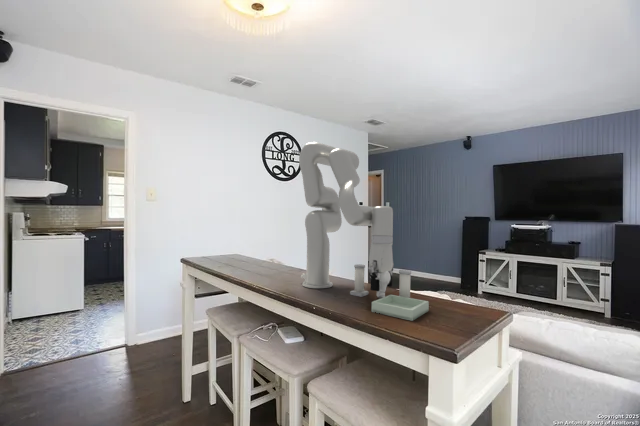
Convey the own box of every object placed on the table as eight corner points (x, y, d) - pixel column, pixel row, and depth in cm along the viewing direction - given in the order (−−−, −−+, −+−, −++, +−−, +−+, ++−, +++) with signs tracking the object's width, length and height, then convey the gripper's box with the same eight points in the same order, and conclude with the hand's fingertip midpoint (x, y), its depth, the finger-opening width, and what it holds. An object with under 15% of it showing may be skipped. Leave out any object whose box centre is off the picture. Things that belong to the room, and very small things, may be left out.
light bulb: (390, 301, 110) (390, 269, 111) (370, 300, 112) (371, 268, 112) (390, 297, 117) (390, 267, 117) (371, 295, 118) (372, 266, 118)
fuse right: (394, 303, 108) (395, 271, 109) (400, 300, 112) (401, 269, 112) (408, 306, 105) (409, 272, 105) (414, 303, 109) (415, 271, 109)
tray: (371, 311, 98) (371, 301, 98) (390, 303, 108) (390, 294, 108) (412, 321, 90) (412, 310, 90) (428, 310, 100) (428, 301, 100)
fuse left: (349, 294, 120) (350, 265, 120) (357, 292, 124) (357, 263, 124) (361, 296, 117) (362, 266, 117) (368, 294, 120) (368, 265, 121)
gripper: (383, 239, 124) (383, 283, 123) (360, 241, 110) (359, 290, 110) (401, 240, 119) (401, 286, 119) (379, 242, 106) (379, 294, 105)
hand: (381, 288), depth 114 cm, fingers open, 9 cm apart
